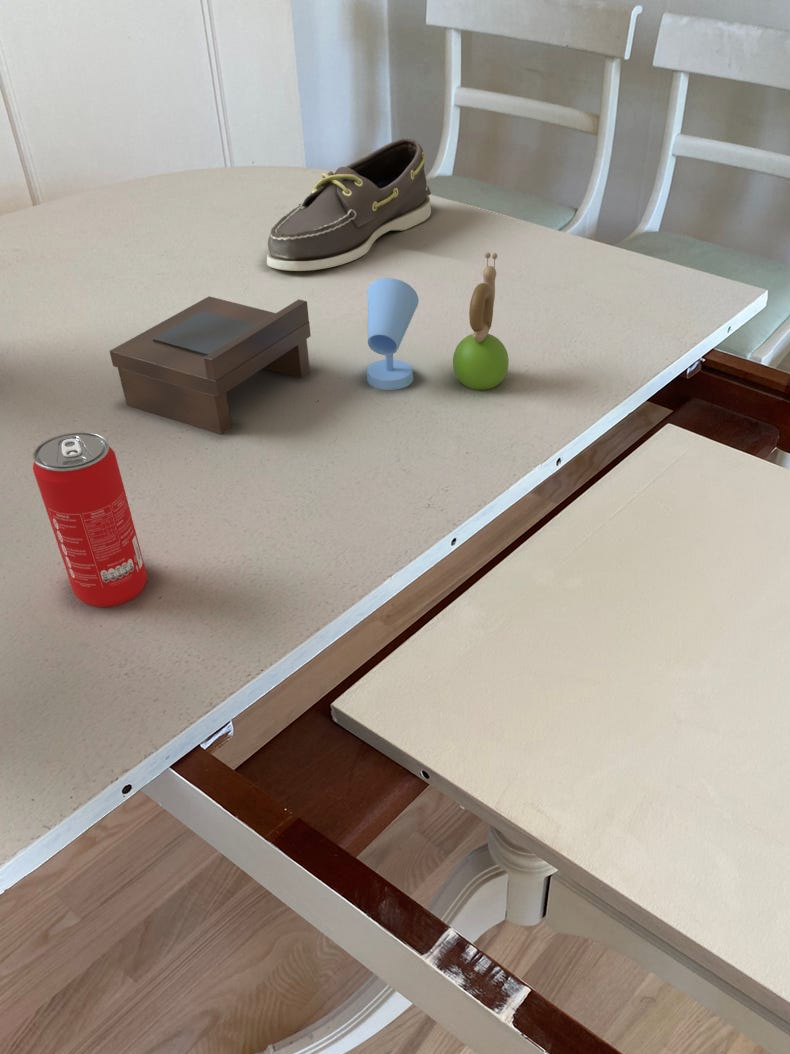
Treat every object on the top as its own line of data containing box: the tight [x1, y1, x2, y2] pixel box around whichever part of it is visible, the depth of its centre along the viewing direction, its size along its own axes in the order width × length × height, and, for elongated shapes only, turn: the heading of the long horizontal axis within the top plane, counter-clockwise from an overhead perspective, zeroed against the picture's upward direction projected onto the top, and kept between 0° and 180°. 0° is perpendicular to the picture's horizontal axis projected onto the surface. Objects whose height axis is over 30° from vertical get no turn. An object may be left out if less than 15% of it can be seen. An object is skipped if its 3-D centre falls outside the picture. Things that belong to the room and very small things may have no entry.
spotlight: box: [366, 277, 419, 391], centre depth 93 cm, size 5×10×7 cm
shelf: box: [109, 296, 311, 436], centre depth 91 cm, size 12×14×8 cm
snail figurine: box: [452, 251, 510, 391], centre depth 92 cm, size 5×6×12 cm
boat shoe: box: [266, 137, 432, 272], centre depth 122 cm, size 11×31×9 cm, turn 149°
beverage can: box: [32, 431, 148, 608], centre depth 67 cm, size 5×5×12 cm
